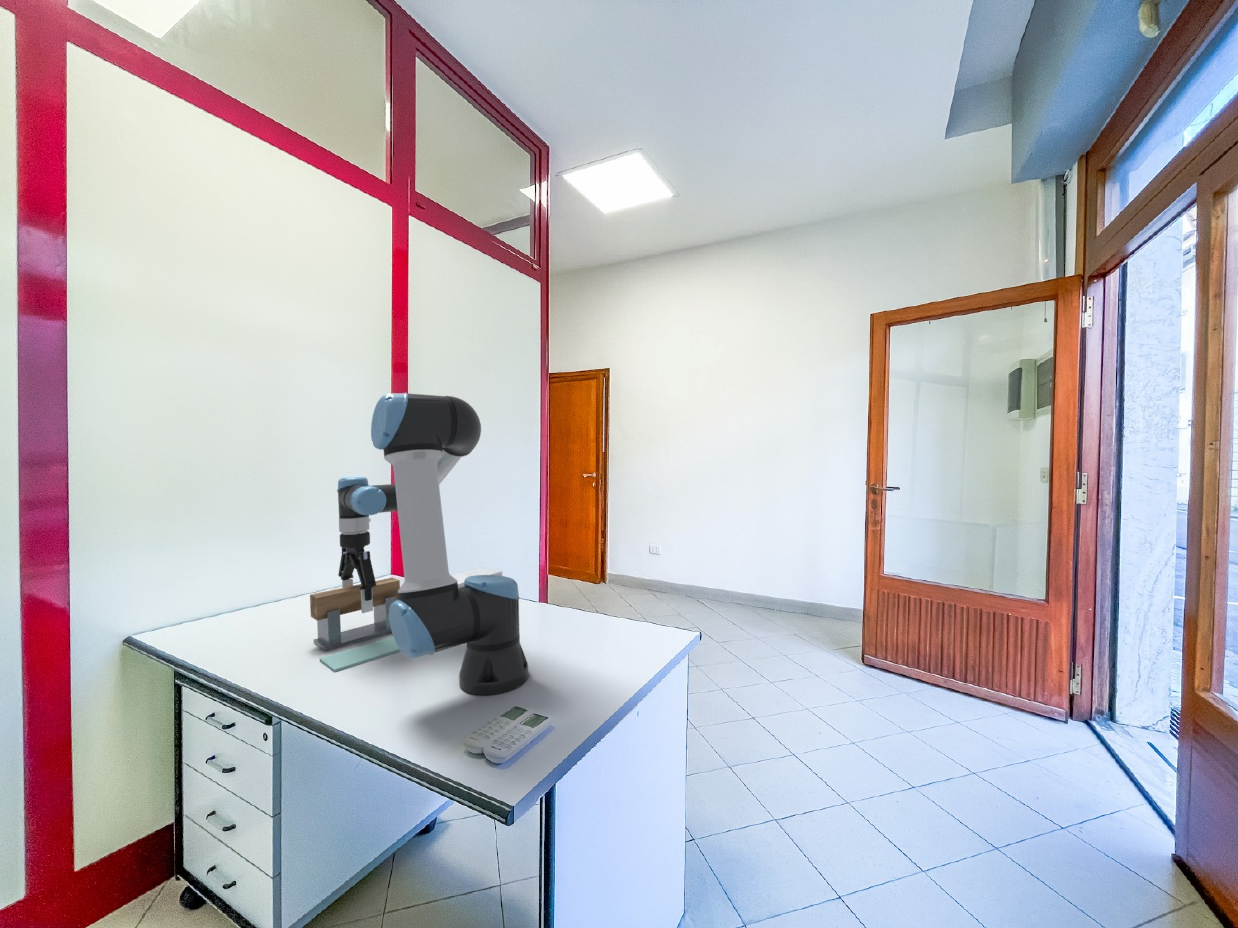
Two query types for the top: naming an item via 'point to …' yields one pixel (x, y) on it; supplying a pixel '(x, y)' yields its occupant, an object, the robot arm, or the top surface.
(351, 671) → the top surface
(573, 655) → the top surface
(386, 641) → the mat
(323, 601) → the rail
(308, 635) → the top surface
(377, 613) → the standards
